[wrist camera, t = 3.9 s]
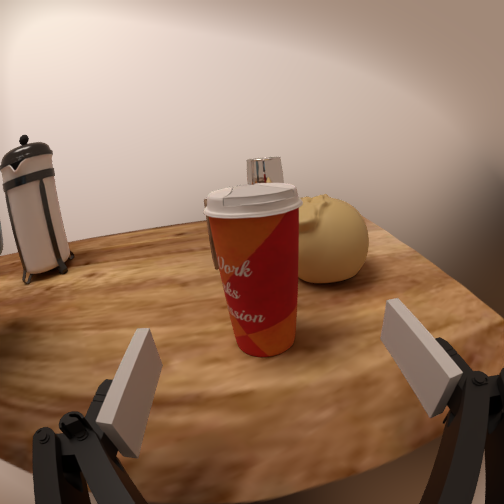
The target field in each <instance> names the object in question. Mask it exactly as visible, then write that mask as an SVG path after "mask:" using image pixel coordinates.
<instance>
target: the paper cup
mask: <svg viewBox="0 0 504 504" xmlns="http://www.w3.org/2000/svg"><path fill="white" fill-rule="evenodd" d="M232 190H233V191H232ZM302 204H303V201H302V200H301V198H299V197H298V193H297V189H296V187H295V186H294V185H292V184H287V183H256V184H255V185H249V184H247V185H239V186H236V187H233V188H232V189H231V187H227V188H223V189H219V190H215V191H213V192H210V193H209V194H208V196H207V206H206V207H205V209H204V214H205V215H206V216H208V217H209V222H210V227H211V232H212V237H213V241H214V246H215V251H216V256H217V261H218V265H219V270H220V274H221V279H222V284H223V288H224V292H225V297H226V301H227V306H228V310H229V314H230V318H231V322H232V326H233V330H234V334H235V338H236V341H237V344H238V346H239V348H240V349H241V350H242V351H243V352H245V353H246V354H249V355H251V356H256V357H271V356H275V355H278V354H281V353H283V352H285V351H286V350H288V349H289V348H290V347H291V346H292V344H293V342H294V339H295V332H296V317H297V295H298V259H299V207H300V206H302Z"/></svg>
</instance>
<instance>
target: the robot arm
mask: <svg viewBox="0 0 504 504" xmlns="http://www.w3.org/2000/svg"><path fill="white" fill-rule="evenodd" d="M2 250H3V237H2V230H1V223H0V254H1V253H2ZM380 339H381V341H382V342H383V344H384V345H385V347H386V348H387V350H388V351H389V353H390V354H391V356H392V357H393V359H394V360H395V362H396V364H397V365H398V367H399V368H400V370H401V371H402V373H403V375H404V376H405V378H406V379H407V381H408V383H409V384H410V386H411V387H412V389H413V391H414V392H415V394H416V396H417V397H418V399H419V401H420V402H421V404H422V406H423V407H424V409H425V411H426V412H427V414H428V416H429V417H430V418H432V417H434V416H436V415H439V414H441V413H443V411H444V409H445V407H446V406H448V407H449V409H450V410H449V412H448V414H447V416H446V417H445V419H444V421H443V424H444V423H445V422H446V424H445V428H444V432H443V436H442V440H441V444H440V447H439V451H438V454H437V457H436V460H435V464H434V467H433V470H432V472H431V475H430V478H429V481H428V484H427V486H426V489H425V491H424V494H423V496H422V499H421V501H420V503H419V504H471V503H472V500H473V497H474V493H475V489H476V486H477V481H478V477H479V473H480V468H481V463H482V458H483V453H484V449H485V468H486V469H485V470H486V491H485V493H486V494H485V504H504V368H503V369H502V370H501V372H500V374H499V375H495V376H489V377H488V376H487V375H486V374H485V373H483V372H480V371H472V369H471V368H470V367H469V366H468V365H467V363H466V362H465V361H464V360H463V359H462V358H461V356H460V355H459V354H457V352H456V351H455V349H453V347H452V346H451V345H450V344H449V343H448V342H447V341H445V340H444V339H442V338H440V337H439V338H436V339H435V338H434V337H433V336H432V335H431V334H430V333H429V332H428V330H427V329H426V328H425V327H424V326H423V325H422V324H421V323H420V321H419V320H418V319H417V318H416V317H415V316H414V315H413V314H412V313H411V312H410V310H409V309H408V308H407V307H406V306H405V305H404V304H403V303H402V302H401V301H400V300H399V299H398V298H395V299H390V300H387V301H386V308H385V314H384V321H383V327H382V332H381V338H380ZM162 366H163V365H162V362H161V359H160V357H159V354H158V351H157V348H156V346H155V343H154V340H153V337H152V334H151V331H150V328H139V329H137V330H136V332H135V334H134V336H133V338H132V340H131V342H130V344H129V346H128V348H127V351H126V353H125V355H124V357H123V359H122V361H121V364H120V366H119V368H118V370H117V372H116V375H115V377H114V379H113V380H108V379H106V380H105V381H104V382H103V383H102V384H101V385H100V386H99V387H98V389H97V392H96V395H95V396H94V398H93V402H92V403H91V405H90V407H89V409H88V411H87V414H86V416H85V417H84V416H83V415H82V414H81V413H79V412H74V411H73V412H69V413H67V414H65V415H64V416H63V417H62V418H61V419H60V422H59V428H60V430H61V431H62V432H63V433H61V434H55V433H54V431H53V430H52V429H50V428H48V427H43V428H40V429H39V430H37V431H36V433H35V434H34V436H33V480H34V495H35V504H91V502H90V497H89V493H88V488H87V483H88V486H89V488H90V490H91V492H92V494H93V496H94V497H95V499H96V501H97V503H98V504H148V503H147V502H146V500H145V499H144V498H143V496H142V495H141V493H140V492H139V491H138V489H137V488H136V486H135V485H134V483H133V482H132V480H131V479H130V477H129V475H128V474H127V472H126V471H125V469H124V467H123V466H122V464H121V462H120V461H119V459H118V458H117V457H116V455H117V452H118V451H119V452H120V453H121V454H122V455H123V456H125V457H132V458H138V457H139V453H140V448H141V444H142V440H143V436H144V432H145V428H146V424H147V420H148V416H149V413H150V409H151V405H152V401H153V398H154V394H155V391H156V387H157V383H158V380H159V376H160V373H161V369H162ZM86 481H87V483H86Z"/></svg>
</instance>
